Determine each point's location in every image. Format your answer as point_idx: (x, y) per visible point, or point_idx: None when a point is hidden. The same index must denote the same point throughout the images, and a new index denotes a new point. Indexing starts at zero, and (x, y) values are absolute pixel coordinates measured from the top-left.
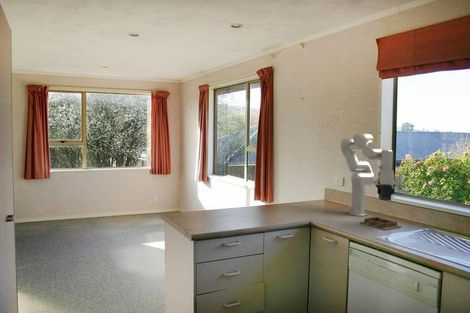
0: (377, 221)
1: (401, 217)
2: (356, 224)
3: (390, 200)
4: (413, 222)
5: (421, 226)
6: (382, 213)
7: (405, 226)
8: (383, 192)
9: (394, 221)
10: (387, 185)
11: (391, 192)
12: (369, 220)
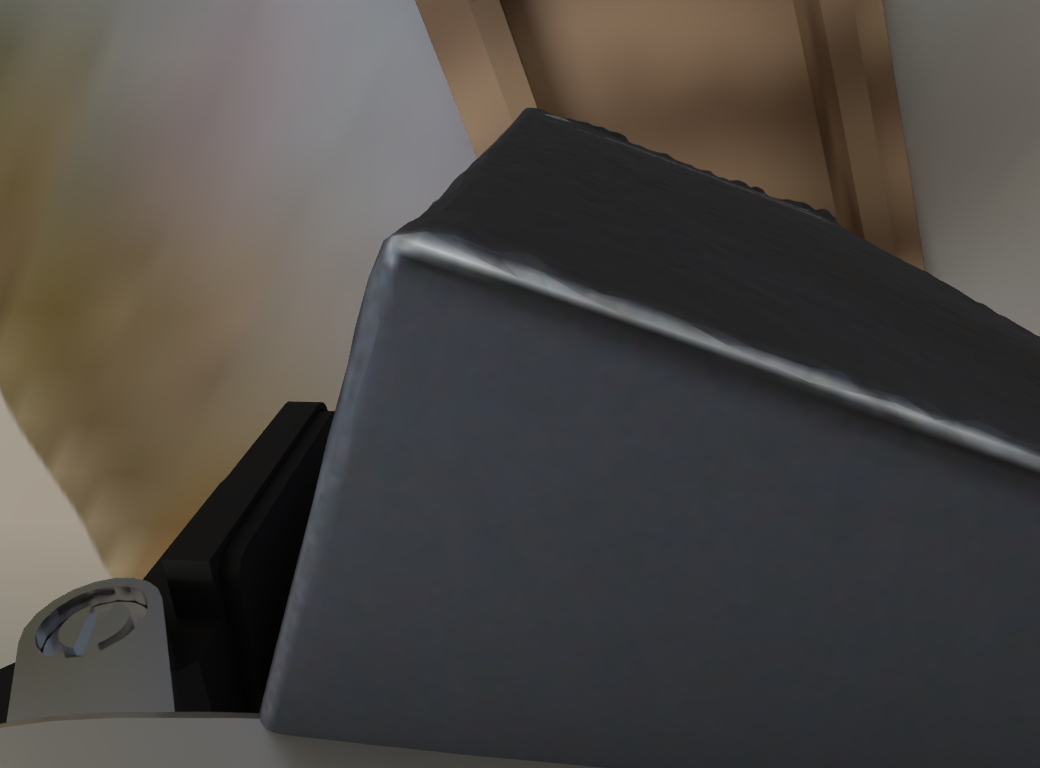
0: (826, 37)
1: (109, 560)
2: (1027, 224)
3: (539, 112)
4: (45, 296)
5: (7, 31)
6: None
7: (283, 45)
8: (920, 272)
9: (485, 21)
10: (975, 408)
11: (312, 453)
12: (878, 182)
